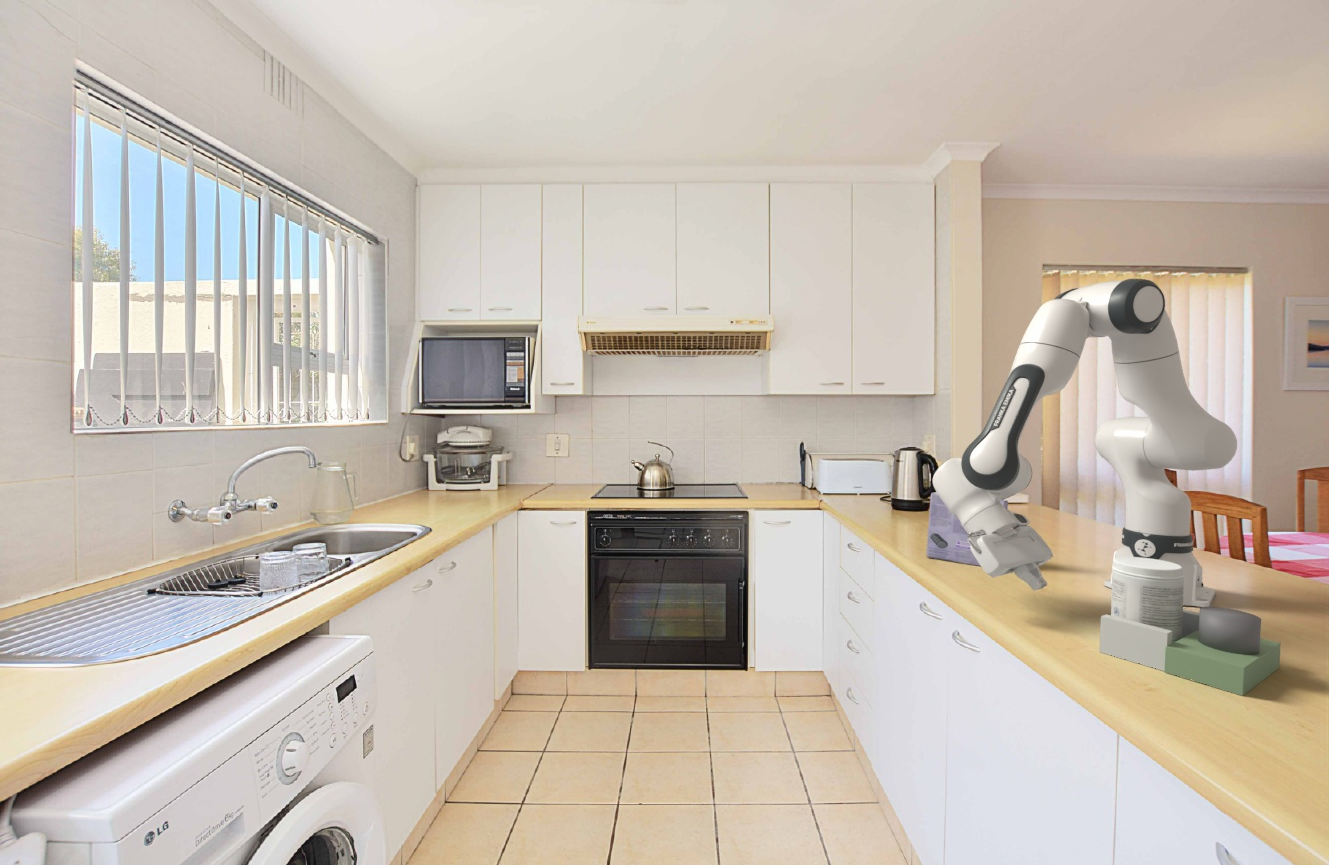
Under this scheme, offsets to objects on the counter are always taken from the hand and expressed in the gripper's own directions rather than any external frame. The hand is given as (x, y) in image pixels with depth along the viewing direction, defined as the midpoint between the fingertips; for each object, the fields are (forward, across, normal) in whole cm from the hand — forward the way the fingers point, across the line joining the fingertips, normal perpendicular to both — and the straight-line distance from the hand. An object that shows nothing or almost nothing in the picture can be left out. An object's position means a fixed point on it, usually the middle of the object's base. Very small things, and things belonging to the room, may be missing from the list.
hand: (1041, 587), depth 118 cm
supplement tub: (+16, 0, -7) cm, 18 cm away
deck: (+20, 0, -12) cm, 23 cm away
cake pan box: (-19, +30, +28) cm, 45 cm away
